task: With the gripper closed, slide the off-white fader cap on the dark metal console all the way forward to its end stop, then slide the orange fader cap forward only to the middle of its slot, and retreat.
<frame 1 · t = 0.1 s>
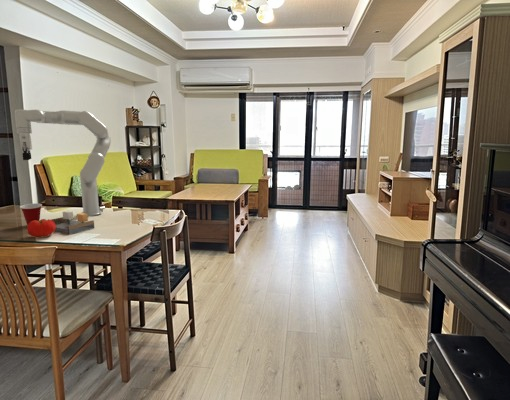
hand: (27, 159, 211), 37 cm above the table, tool pointing down, fingers open, 9 cm apart
orange fader: (82, 218, 195), point 5 cm above the table, slide at 0.0 cm
tomato: (43, 236, 180), on the table
console: (68, 228, 195), on the table
white fader: (68, 216, 201), point 5 cm above the table, slide at 0.0 cm
plastic cup: (33, 225, 203), on the table
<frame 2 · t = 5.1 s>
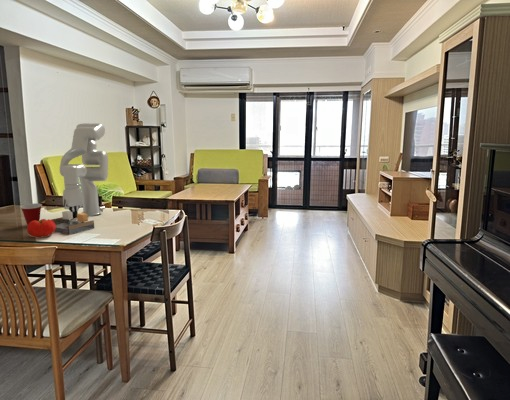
hand: (74, 217, 204), 4 cm above the table, tool pointing down, fingers closed
white fader: (67, 216, 201), point 5 cm above the table, slide at 0.3 cm, touching gripper
everything else where it was.
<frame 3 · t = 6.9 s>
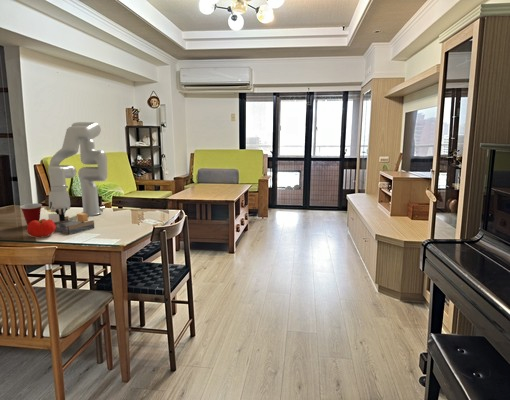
hand: (61, 220, 198), 4 cm above the table, tool pointing down, fingers closed
white fader: (54, 219, 194), point 6 cm above the table, slide at 8.3 cm, touching gripper
everything else where it was.
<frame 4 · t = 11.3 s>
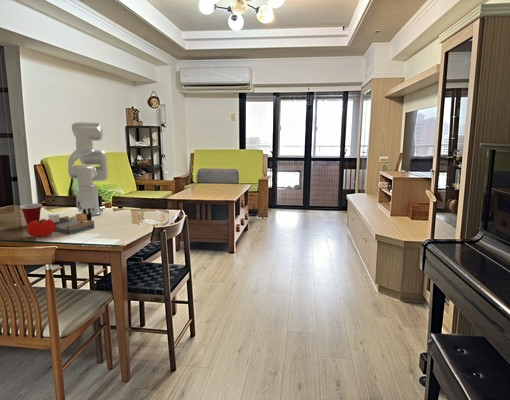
hand: (88, 220, 198), 4 cm above the table, tool pointing down, fingers closed
orange fader: (81, 218, 194), point 5 cm above the table, slide at 0.6 cm, touching gripper
white fader: (54, 219, 194), point 5 cm above the table, slide at 8.3 cm
everything else where it was.
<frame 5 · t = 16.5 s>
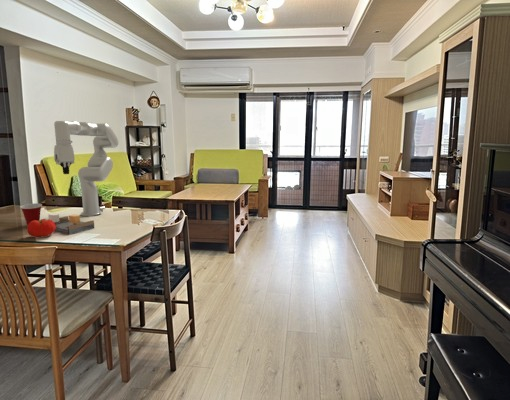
hand: (66, 173, 206), 29 cm above the table, tool pointing down, fingers closed
orange fader: (74, 220, 190), point 6 cm above the table, slide at 4.8 cm
everything else where it was.
at the end: white fader slide at 8.3 cm; orange fader slide at 4.8 cm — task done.
